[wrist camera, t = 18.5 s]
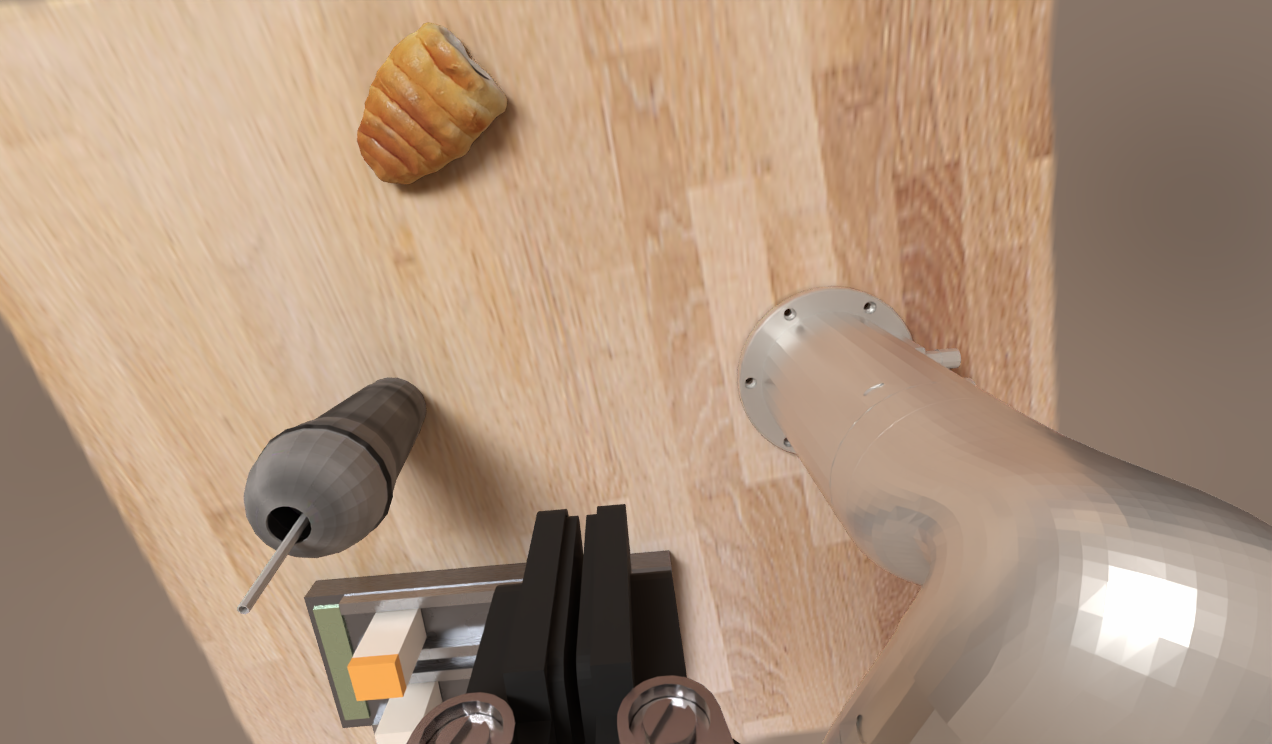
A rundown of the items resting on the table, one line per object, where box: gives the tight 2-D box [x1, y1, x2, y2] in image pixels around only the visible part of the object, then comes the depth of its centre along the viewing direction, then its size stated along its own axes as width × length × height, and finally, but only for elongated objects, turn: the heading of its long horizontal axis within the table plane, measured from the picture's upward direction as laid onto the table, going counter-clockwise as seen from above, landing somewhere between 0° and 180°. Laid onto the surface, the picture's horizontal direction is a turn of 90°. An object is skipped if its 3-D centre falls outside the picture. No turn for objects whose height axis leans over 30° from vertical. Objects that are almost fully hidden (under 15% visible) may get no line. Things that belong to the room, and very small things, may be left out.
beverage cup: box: [237, 378, 426, 614], centre depth 35 cm, size 7×7×20 cm
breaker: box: [374, 681, 443, 744], centre depth 48 cm, size 3×3×5 cm
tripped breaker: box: [347, 608, 427, 701], centre depth 45 cm, size 3×3×6 cm
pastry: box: [357, 22, 507, 184], centre depth 37 cm, size 9×7×4 cm
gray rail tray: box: [304, 551, 672, 734], centre depth 50 cm, size 28×13×3 cm, turn 94°
